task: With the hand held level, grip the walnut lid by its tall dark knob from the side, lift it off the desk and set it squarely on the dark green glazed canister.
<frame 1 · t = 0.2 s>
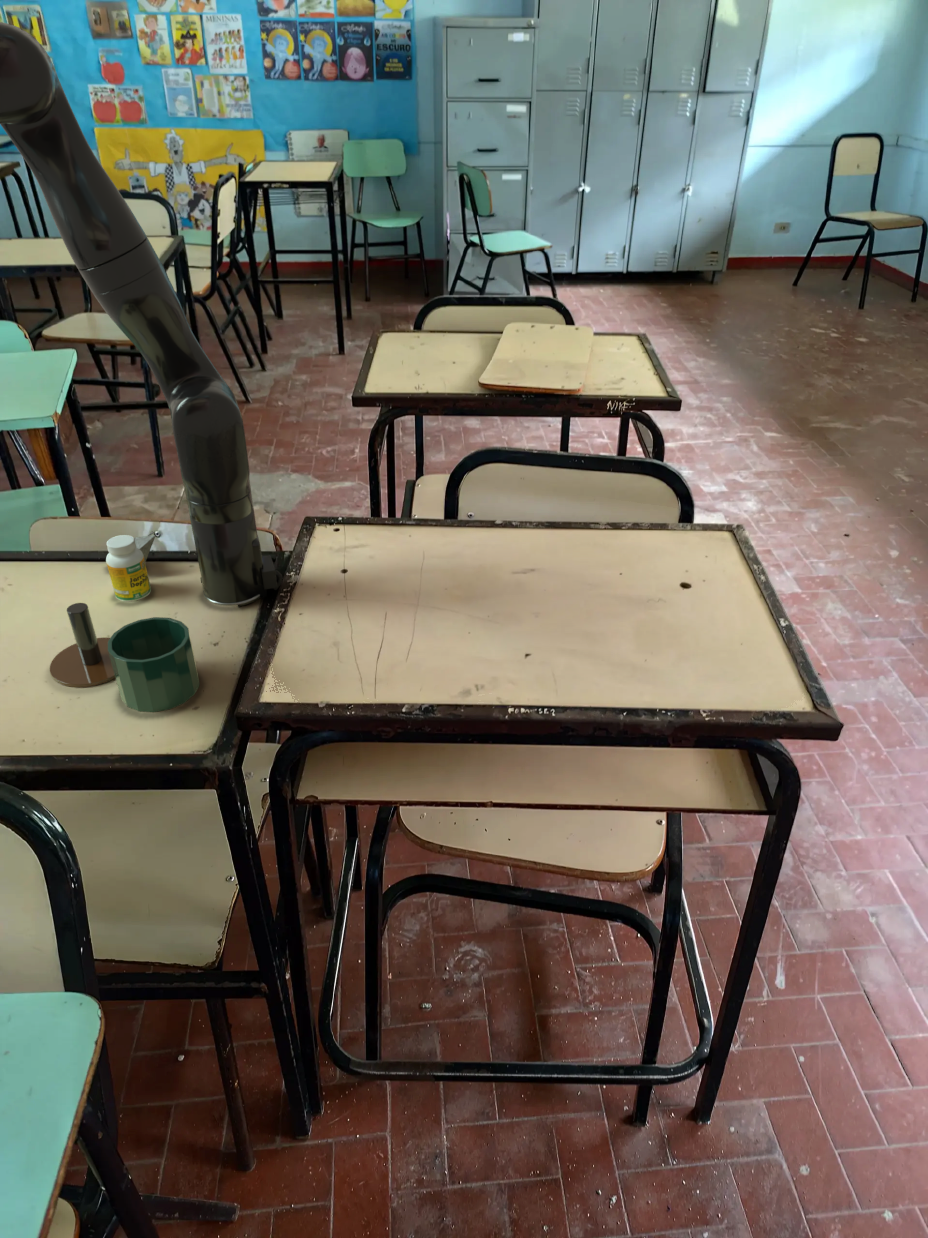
lid: (93, 662, 116), point 1 cm above the table
supplement bottle: (134, 596, 132), on the table
canister: (161, 691, 112), on the table
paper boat: (139, 567, 139), on the table
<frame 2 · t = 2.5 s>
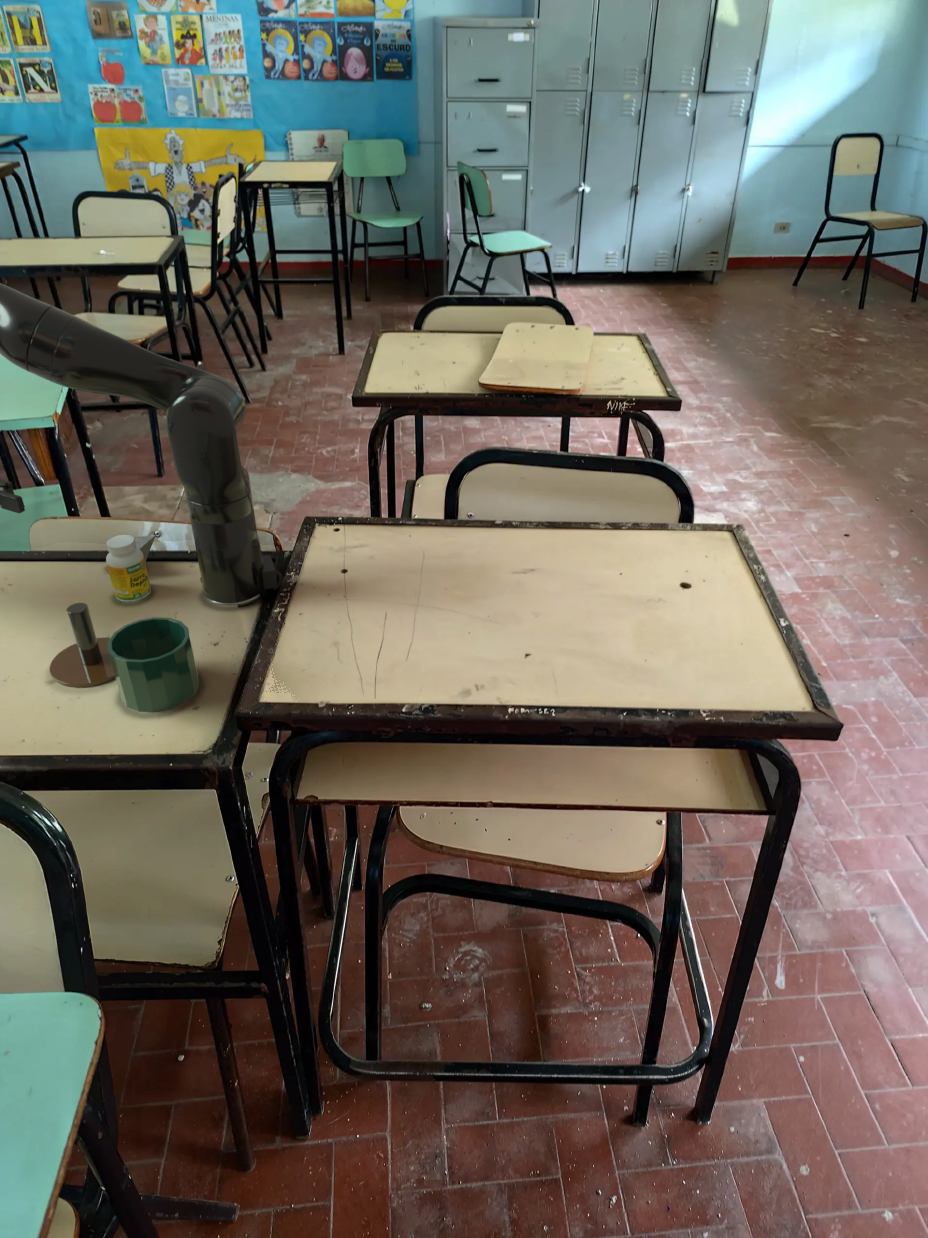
nothing on the table moved.
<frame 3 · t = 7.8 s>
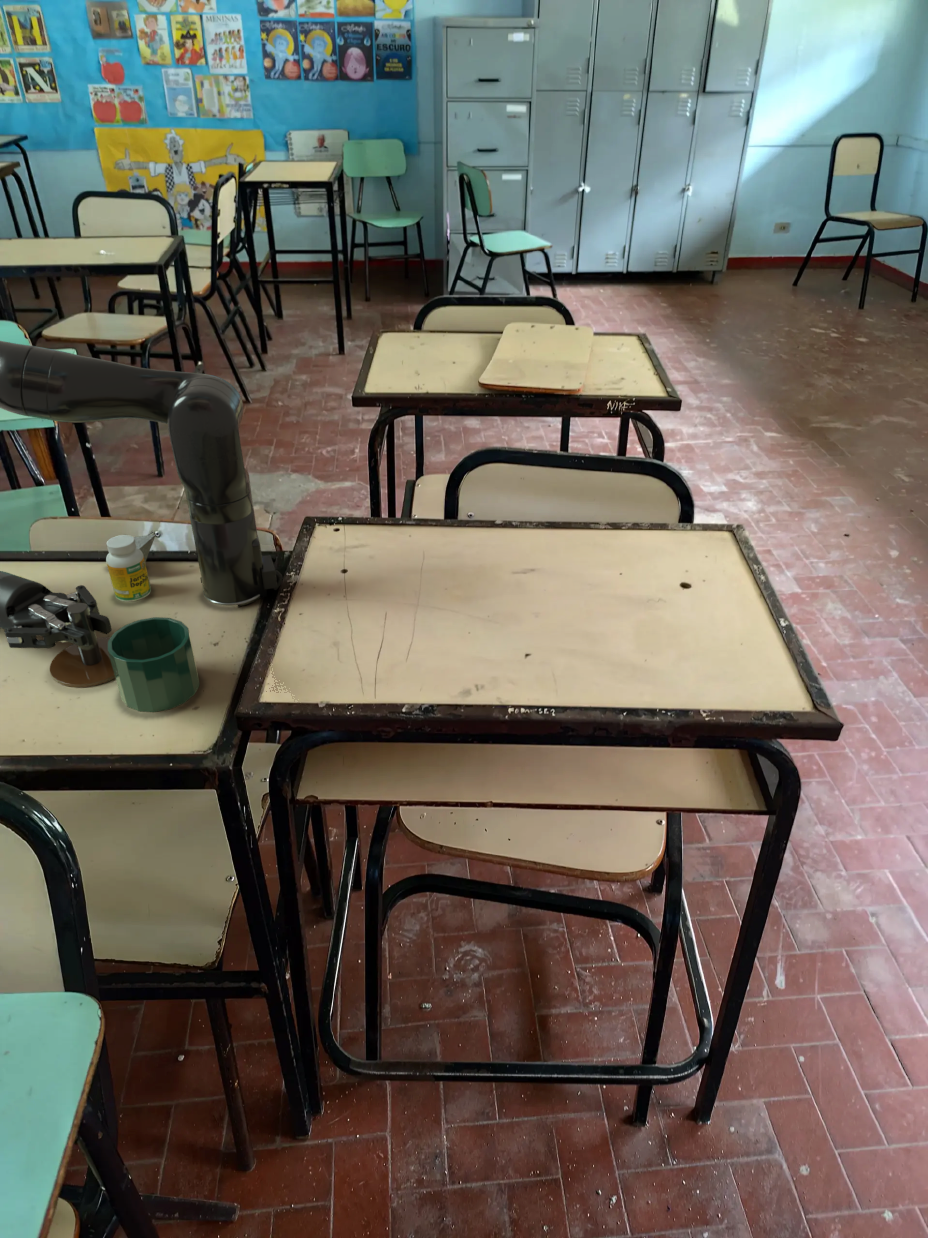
hand: (99, 632, 112), 7 cm above the table, tool horizontal, fingers closed on lid, 2 cm apart
lid: (93, 662, 116), point 1 cm above the table, touching gripper
everything else where it was.
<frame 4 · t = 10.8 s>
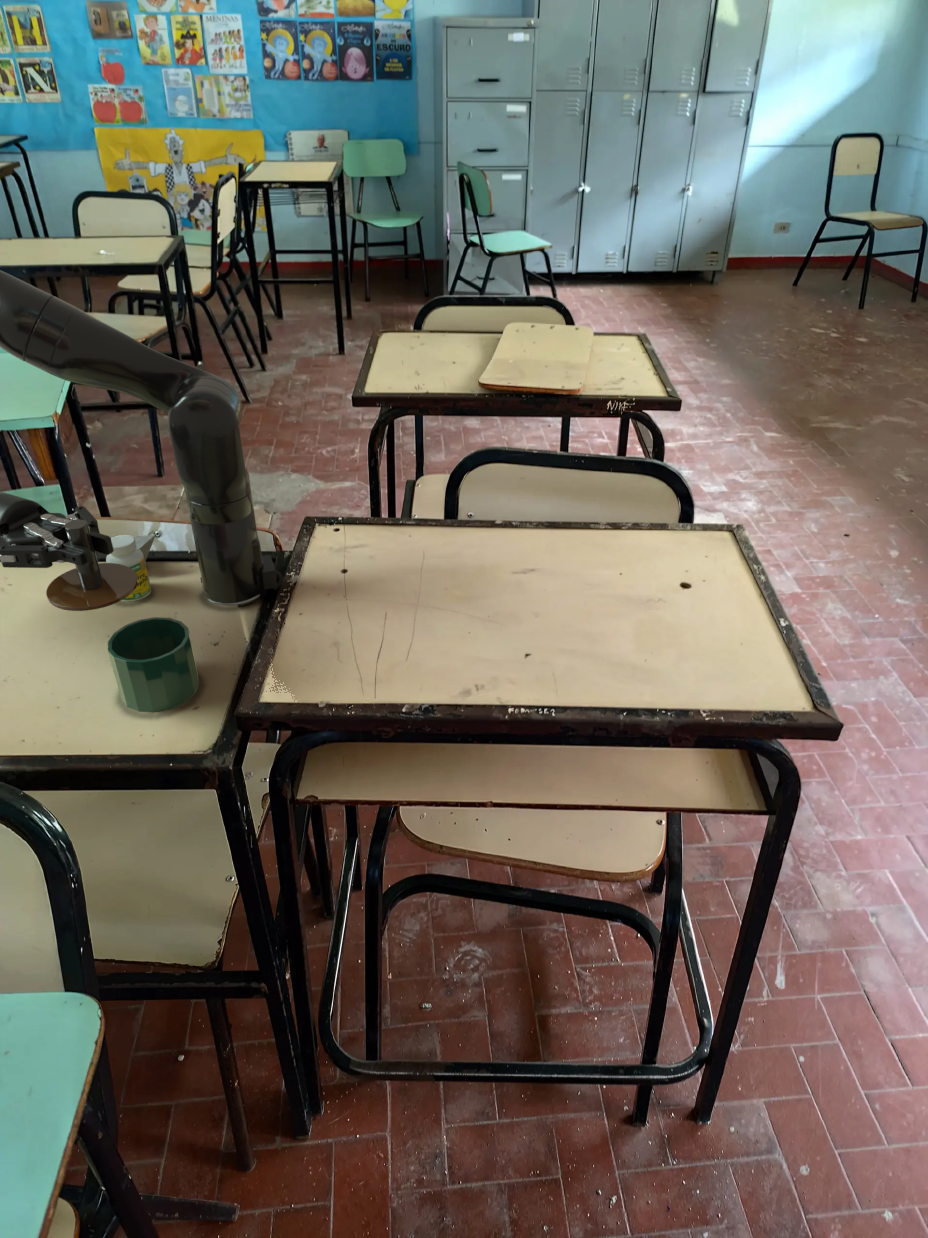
hand: (99, 552, 103), 20 cm above the table, tool horizontal, fingers closed on lid, 2 cm apart
lid: (93, 587, 107), point 14 cm above the table, touching gripper
everything else where it was.
when the fingers open (14 cm above the table, at t = 13.9 s): lid stays where it is, resting on canister.
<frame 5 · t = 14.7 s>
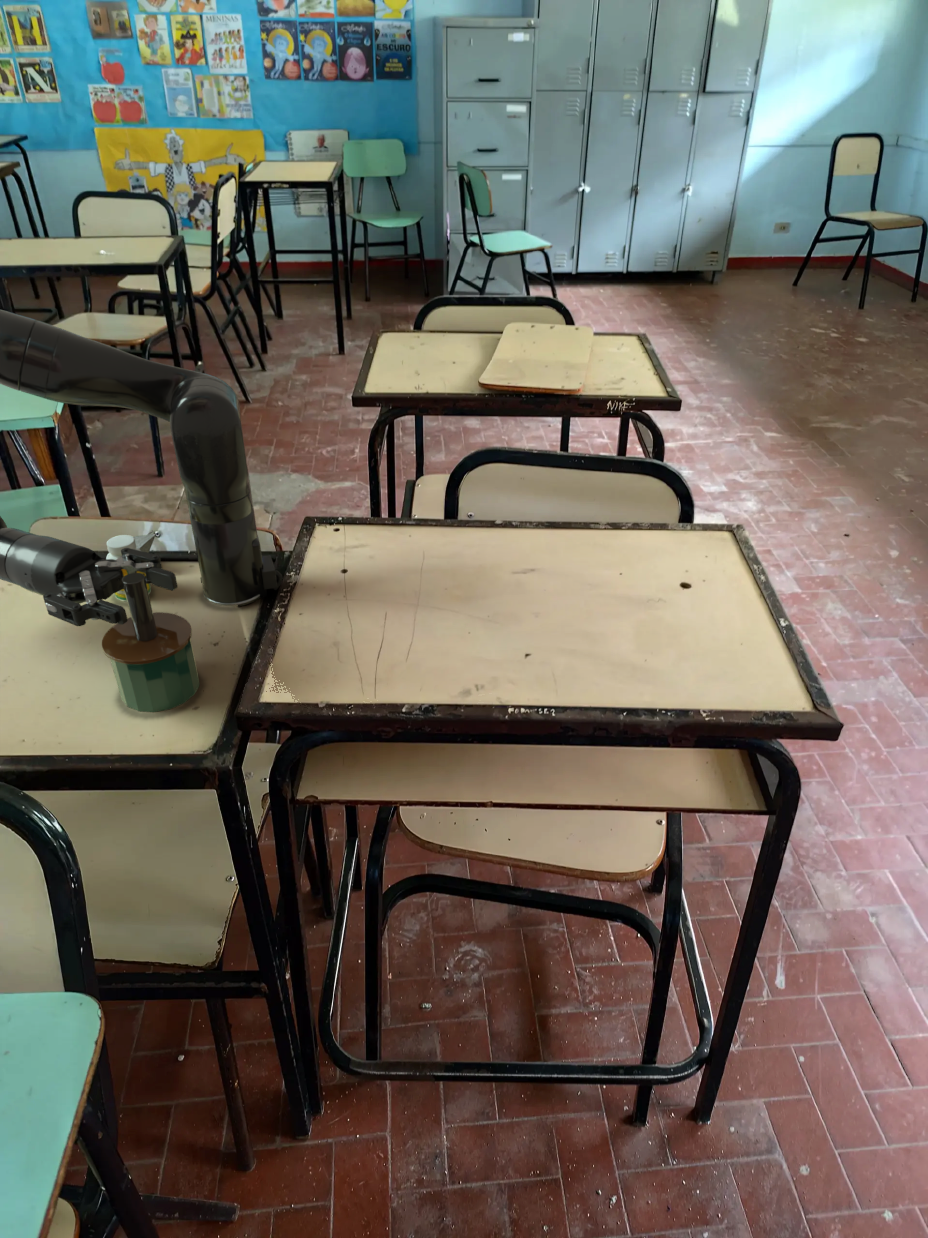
hand: (150, 598, 103), 15 cm above the table, tool horizontal, fingers open, 8 cm apart
lid: (147, 638, 107), point 8 cm above the table, touching canister
everything else where it was.
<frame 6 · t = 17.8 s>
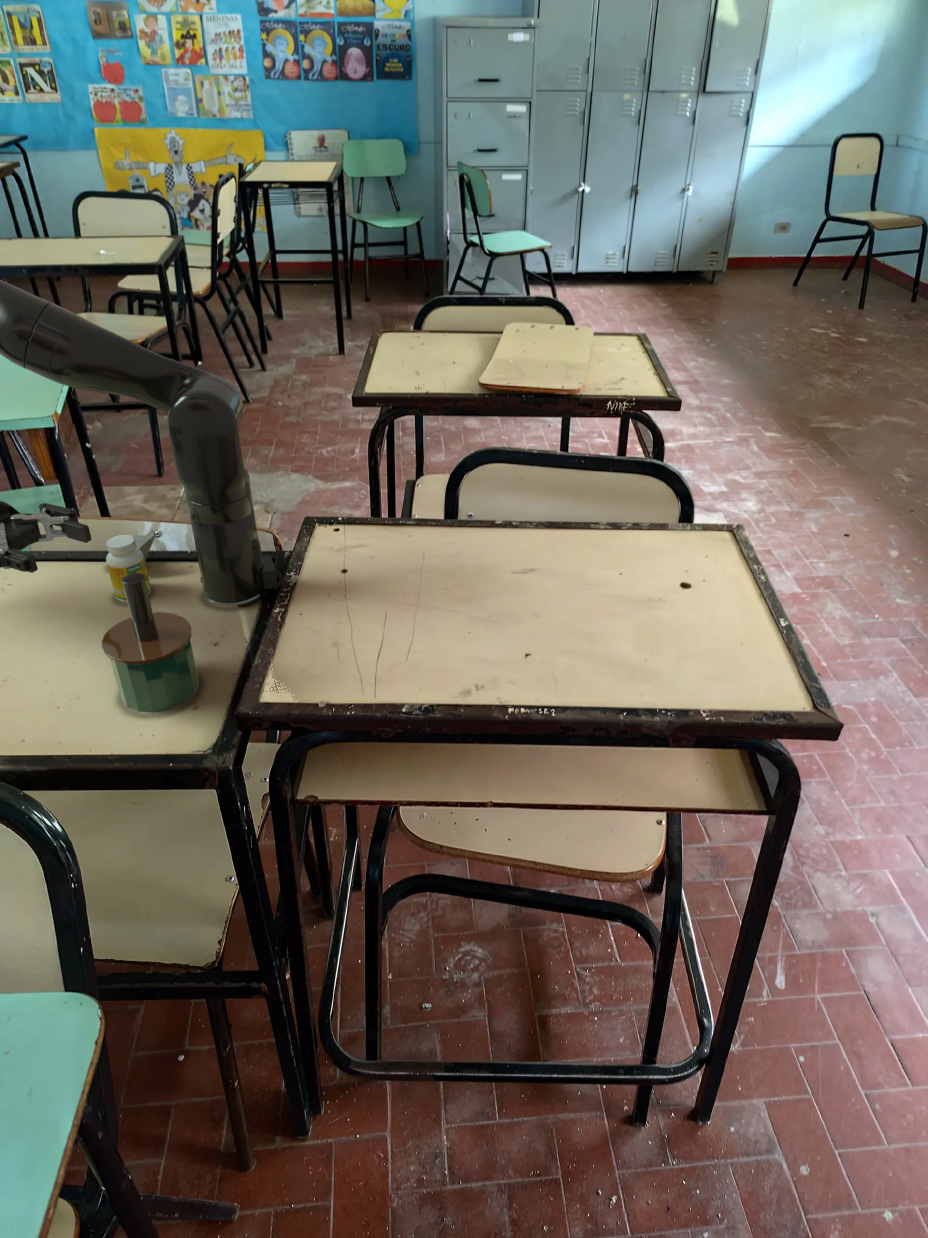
hand: (62, 549, 106), 18 cm above the table, tool horizontal, fingers open, 8 cm apart
nothing on the table moved.
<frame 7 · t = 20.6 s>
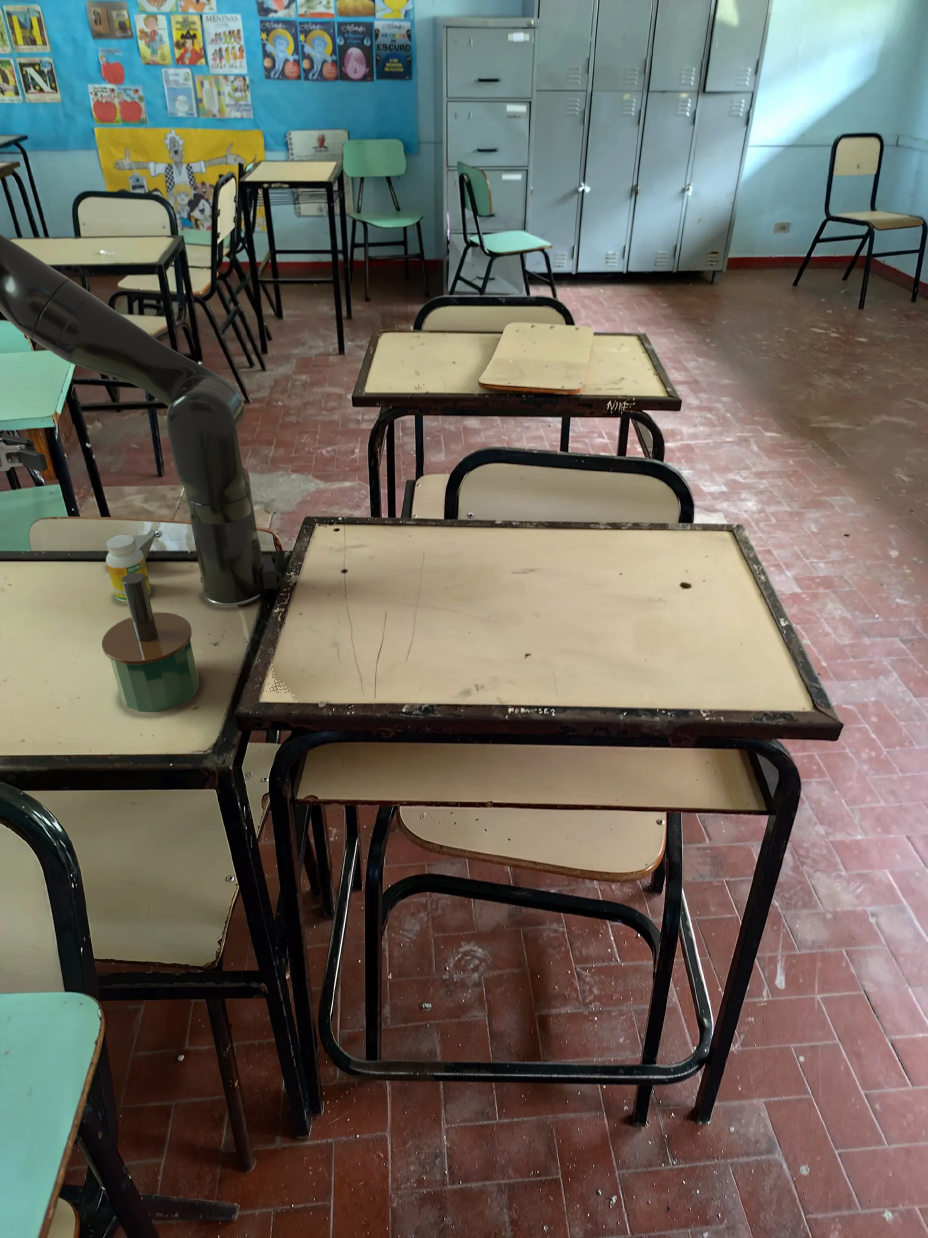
hand: (15, 475, 104), 27 cm above the table, tool horizontal, fingers open, 8 cm apart
nothing on the table moved.
at the end: lid 0.1 cm off-centre on the canister, point 8.5 cm above the canister's base; lid tilted 0°; the gripper is holding nothing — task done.
